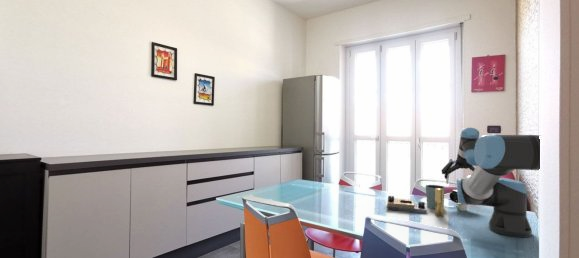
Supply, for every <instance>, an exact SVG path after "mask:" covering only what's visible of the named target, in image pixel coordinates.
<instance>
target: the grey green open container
mask: <svg viewBox="0 0 579 258" xmlns="http://www.w3.org/2000/svg"><path fill="white" fill-rule="evenodd" d="M435 188H441V189H444V192H445V191H446V190H445V189H446V188H445V186H444V185H443V186H442V185H439V184H428V185H427V184H426V185H425V195H426V196H425V197H426V206H427V208H430V209H434V210H435Z"/></svg>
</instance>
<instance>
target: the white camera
mask: <svg viewBox="0 0 579 258" xmlns="http://www.w3.org/2000/svg"><path fill="white" fill-rule="evenodd" d="M449 199H450V201H452V202H453V203H456V205H455V207H456V210H458V211H460V212H467V211H468V205H466V204H461V203H459V201H458V195H457V189H452V190H451V192H449Z"/></svg>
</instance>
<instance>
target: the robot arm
mask: <svg viewBox="0 0 579 258" xmlns="http://www.w3.org/2000/svg"><path fill="white" fill-rule="evenodd" d="M539 136H540V135H538V134H497V133H495V134H494V133H493V134H484V135H481V136H480V130H478V129H477V128H475V127H464V128H462V130H461V133H460V138H459V144H458V150H457V157H456V160H453V159H452V158H450V159H449V161H448V163H446V165H445V166H443V168H441V174H442V175H444V179H445V184H446V185H448V184H449V179H450V174H451V173H453V172H455V171H456V170H459V169H467V170H468V169H469V170H470V171H472V173H471V174H469V175H467V176H466V177H464V178H462V177H461V178H457V179H456V190H457V195H458V201H459V203H461V204H465V205H467V206H471V205H472V206H481V207H482V206H483V207H493V212H492V214H491V216H490V219H489V221H488V229H490V231H493V232H495V233H497V234H501V235H504V236H508V237H514V238H515V237H516V238H529V237H531V236H533V231H532V227H531V225H530V222H529V220H528V216H527V207H528V206H527V204H528V203H527V201H528V200H527V199H528V197H527V196H528V192H527V191H528V190H527V185H526V184H525V183H524V182H522V181H520V180H516V179H512V178H507V177H503V176H508V175H510V174H511V173H513V171H514V170H519V171H520V170H523V171H540V170H539V169H540V139H539ZM459 203H458V204H459Z"/></svg>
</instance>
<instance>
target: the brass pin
mask: <svg viewBox="0 0 579 258" xmlns="http://www.w3.org/2000/svg"><path fill="white" fill-rule="evenodd" d="M444 204H445V191H444V189H441V188H435V209H434V214H435V215H434V216H436V217H440V218H441V217H442V218H443V217H444V215H445V205H444Z"/></svg>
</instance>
